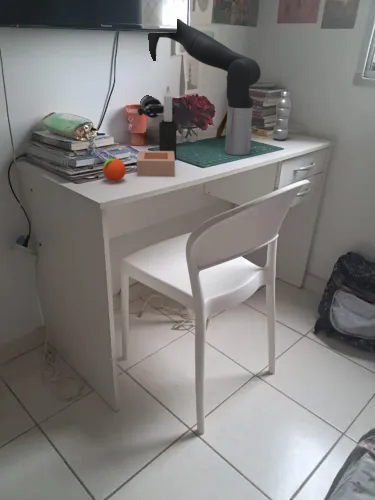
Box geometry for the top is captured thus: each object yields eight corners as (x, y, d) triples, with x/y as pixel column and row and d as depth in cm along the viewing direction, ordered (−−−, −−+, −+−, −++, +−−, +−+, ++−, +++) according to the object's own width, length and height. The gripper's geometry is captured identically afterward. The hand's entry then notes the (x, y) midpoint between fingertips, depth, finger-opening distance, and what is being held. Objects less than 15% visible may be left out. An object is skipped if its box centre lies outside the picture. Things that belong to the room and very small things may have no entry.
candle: (169, 160, 144) (170, 86, 132) (158, 158, 147) (157, 85, 135) (177, 157, 148) (178, 85, 136) (166, 155, 151) (166, 84, 139)
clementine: (112, 186, 119) (110, 163, 116) (96, 181, 123) (94, 159, 119) (130, 180, 125) (129, 157, 121) (115, 175, 128) (113, 153, 125)
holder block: (173, 165, 140) (173, 151, 137) (174, 176, 129) (174, 161, 127) (139, 165, 139) (138, 150, 137) (137, 176, 128) (136, 160, 126)
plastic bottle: (288, 139, 179) (295, 91, 170) (283, 142, 174) (290, 93, 165) (275, 137, 182) (281, 90, 173) (269, 139, 177) (275, 91, 168)
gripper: (132, 97, 159) (141, 103, 146) (167, 96, 163) (178, 102, 150) (133, 116, 163) (142, 124, 149) (167, 115, 167) (178, 123, 153)
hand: (160, 113), depth 149 cm, fingers open, 8 cm apart
